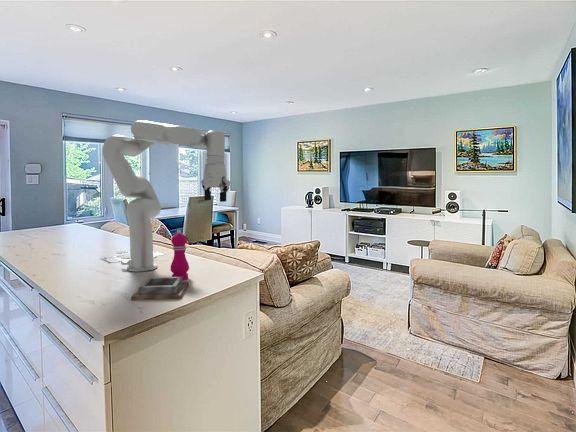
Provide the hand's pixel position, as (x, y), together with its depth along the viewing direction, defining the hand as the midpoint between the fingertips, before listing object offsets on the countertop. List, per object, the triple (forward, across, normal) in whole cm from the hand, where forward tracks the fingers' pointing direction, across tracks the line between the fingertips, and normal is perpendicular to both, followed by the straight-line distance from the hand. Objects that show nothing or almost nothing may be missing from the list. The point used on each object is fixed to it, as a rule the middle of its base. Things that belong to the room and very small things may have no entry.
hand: (215, 200), depth 150 cm
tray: (+33, -56, -6) cm, 65 cm away
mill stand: (+31, +7, -31) cm, 44 cm away
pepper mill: (+32, -2, -16) cm, 36 cm away
